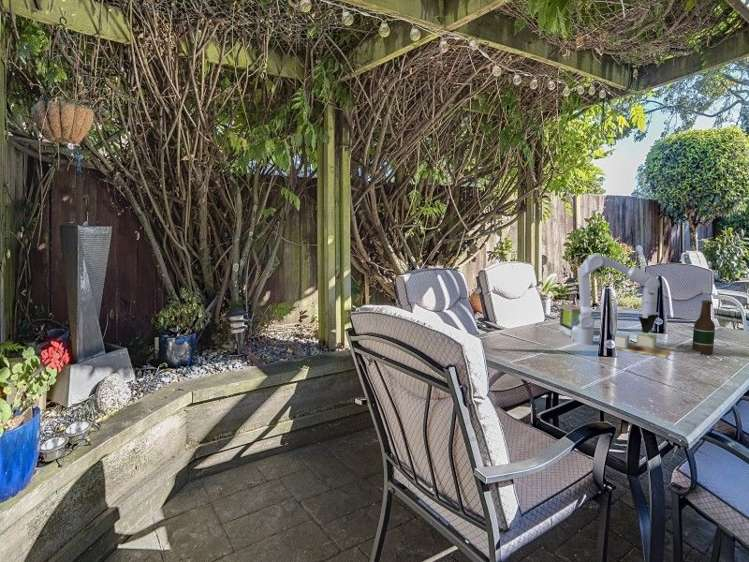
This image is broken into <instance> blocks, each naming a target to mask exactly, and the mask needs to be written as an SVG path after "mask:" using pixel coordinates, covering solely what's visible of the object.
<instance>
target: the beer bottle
mask: <svg viewBox="0 0 749 562" xmlns="http://www.w3.org/2000/svg"><path fill="white" fill-rule="evenodd" d="M712 304H713V303H712V300H704V299H703V300H702V301H701V308H700V314H699V317H698V318H697V319H696V321H695V323H694V325H693V330H692V331H693V333H692V343H691V345H692V346H691V349H692V350H693V351H695V352H699V355H702V354H705V356H710V355H709V354H711V355H713V352H714V342H715V334H716V325H715V322H714V320H712V315H711V314H712Z"/></svg>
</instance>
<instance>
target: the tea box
mask: <svg viewBox="0 0 749 562" xmlns="http://www.w3.org/2000/svg"><path fill="white" fill-rule="evenodd" d="M579 314H580V304H579V305H578V304H560V314H559V315H560V316H559V331H560V332H562V333H563V334H566V335H567V336H569V337H571V333H572V328H573V326H578V324H579V323H580V321H579V319H578V317H579Z"/></svg>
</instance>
